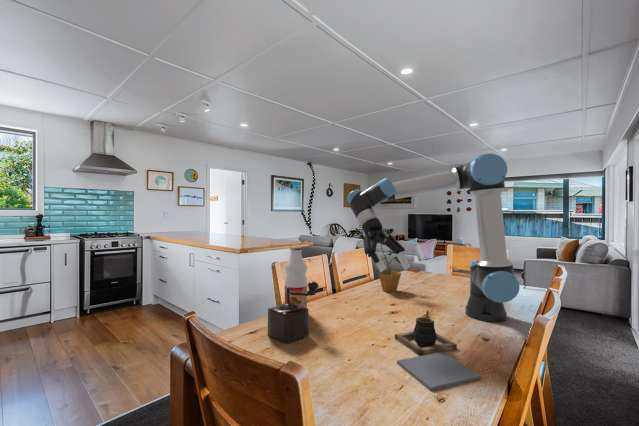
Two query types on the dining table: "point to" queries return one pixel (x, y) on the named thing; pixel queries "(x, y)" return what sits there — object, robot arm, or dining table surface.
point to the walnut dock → (445, 346)
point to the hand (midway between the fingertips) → (396, 269)
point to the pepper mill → (290, 318)
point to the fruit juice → (296, 277)
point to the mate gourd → (424, 331)
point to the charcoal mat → (438, 370)
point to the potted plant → (389, 276)
